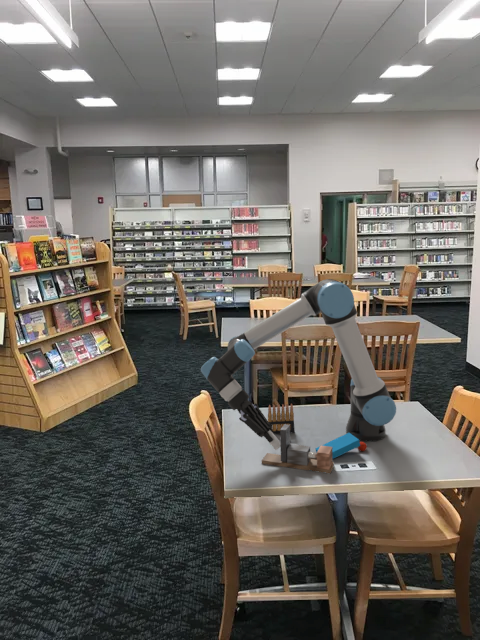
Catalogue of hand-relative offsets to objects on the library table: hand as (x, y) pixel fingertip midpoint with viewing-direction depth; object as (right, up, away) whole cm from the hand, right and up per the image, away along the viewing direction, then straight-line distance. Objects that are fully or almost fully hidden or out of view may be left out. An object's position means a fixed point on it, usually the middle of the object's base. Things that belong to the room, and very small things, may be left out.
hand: (279, 447), depth 170 cm
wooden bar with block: (+6, -6, -1) cm, 8 cm away
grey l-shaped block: (+9, -4, -2) cm, 10 cm away
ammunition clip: (+3, -1, +26) cm, 27 cm away
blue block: (+24, -4, +6) cm, 25 cm away
